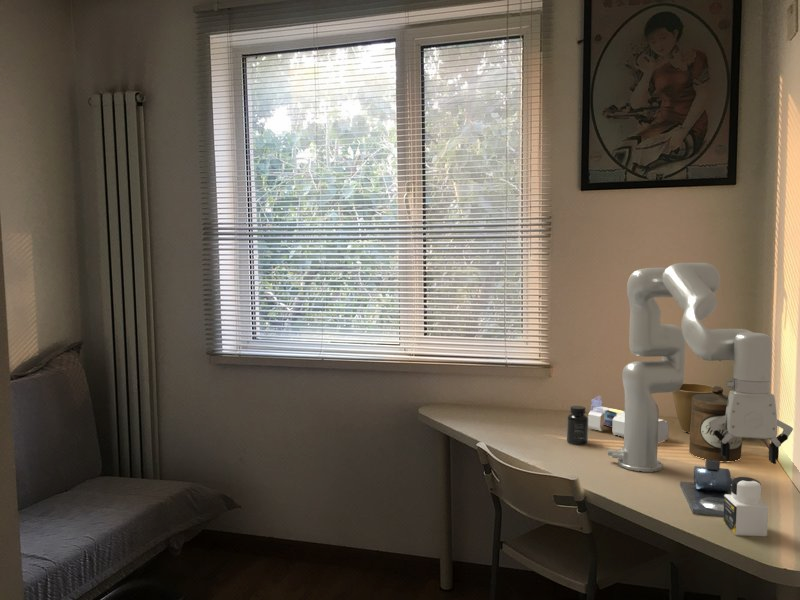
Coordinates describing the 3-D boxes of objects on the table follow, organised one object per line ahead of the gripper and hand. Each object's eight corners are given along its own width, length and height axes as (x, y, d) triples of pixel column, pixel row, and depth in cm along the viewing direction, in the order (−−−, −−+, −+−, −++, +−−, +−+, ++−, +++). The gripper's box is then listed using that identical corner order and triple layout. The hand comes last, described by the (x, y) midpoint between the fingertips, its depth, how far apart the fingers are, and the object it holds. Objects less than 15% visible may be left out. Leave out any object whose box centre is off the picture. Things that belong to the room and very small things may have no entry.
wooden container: (707, 463, 203) (710, 392, 201) (679, 449, 217) (682, 382, 216) (751, 461, 205) (755, 390, 203) (721, 447, 220) (724, 381, 218)
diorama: (587, 430, 240) (588, 394, 239) (604, 425, 247) (605, 390, 246) (651, 446, 221) (652, 407, 220) (668, 441, 227) (669, 403, 226)
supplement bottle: (591, 442, 224) (592, 407, 223) (581, 446, 220) (581, 410, 219) (573, 438, 229) (574, 403, 228) (562, 442, 224) (563, 407, 224)
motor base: (692, 513, 165) (694, 477, 164) (679, 485, 184) (681, 452, 183) (755, 519, 161) (757, 482, 161) (735, 490, 181) (737, 457, 180)
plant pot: (680, 423, 248) (681, 381, 247) (722, 431, 238) (724, 387, 237) (663, 431, 238) (664, 387, 237) (706, 440, 227) (708, 393, 226)
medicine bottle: (722, 522, 159) (724, 473, 158) (753, 524, 159) (756, 474, 158) (734, 535, 152) (736, 484, 151) (767, 537, 152) (769, 485, 151)
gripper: (713, 388, 151) (711, 462, 152) (799, 392, 147) (796, 468, 148) (707, 382, 158) (705, 453, 160) (788, 385, 154) (785, 458, 155)
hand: (748, 460), depth 154 cm, fingers open, 9 cm apart
